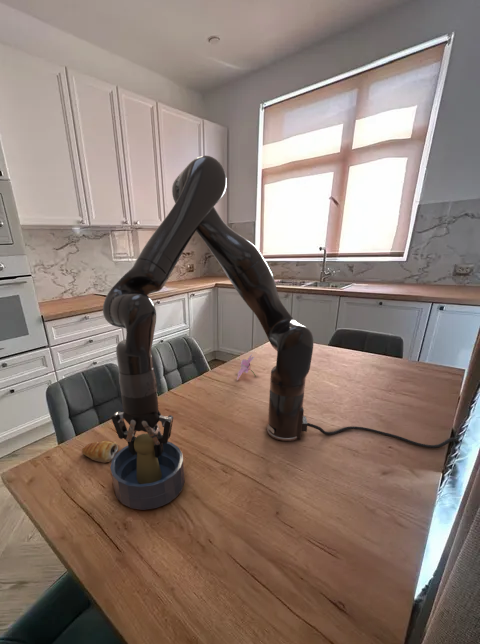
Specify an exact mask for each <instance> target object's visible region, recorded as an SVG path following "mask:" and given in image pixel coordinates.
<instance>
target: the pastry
mask: <svg viewBox="0 0 480 644" xmlns="http://www.w3.org/2000/svg"><path fill="white" fill-rule="evenodd" d="M81 449H82V450H81V451H82V454H83V455H84V456H85V457H86V458H88V459H90V460H92V461H95V462H100V463H110V462H112V459H113V458H114V456H115V455H116V454H117V453H118V452H119V446H118V444H117V442H115V441H108V440H102V441H94V442H91V443H88V444H86V445H85V446H84V447H83V448H81Z"/></svg>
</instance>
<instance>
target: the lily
mask: <svg viewBox="0 0 480 644" xmlns="http://www.w3.org/2000/svg"><path fill="white" fill-rule="evenodd" d="M252 355H253V353H250V355H249V356H248V358H247V359H246V358H243V359H242V360H241V362H240V369H239V370H238V372H237V373H236V375H237V377H236V381H238V380H239V379H240V377H241V376H242V374H244V373H245V374H248V373H249V371H250V372H252V374H253V375H254V377H256V376H257V375H256V374H255V373H254V371H253V370H252V369H251V362H252V361H253V360H254V358H255V356H252Z"/></svg>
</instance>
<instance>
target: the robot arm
mask: <svg viewBox="0 0 480 644" xmlns="http://www.w3.org/2000/svg"><path fill="white" fill-rule="evenodd" d="M227 184H228V183H227V174H226V171H225V168H224V166H223V165H222V164H221V162H219V160H218V159H216V158H214V157H213V156H211V155H202V156H201V155H200V156H198V157H196V158H194V159H193V160H192V161H191V162H189V163H188V164H187V165H186V167H184V169H183V170H182V171H181V172H180V173H179V174H178V175H177V176H176V178H175V179H174V180H173V183H172V186H171V195H172V199H173V201H174V205H173V206H172V208H171V210H170V211H169V212H168V213H167V215H166V216H165V218H164V219H163V221H161V223H160V224H159V225H158V227H157V228H156V229H155V230H154V232H153V234H152V235H151V236H150V238H149V239H148V240H147V242H146V243H145V245H144V246H143V248H142V249H141V251H140V253H139V255H138V256H137V258H136V260H135V262H134V264H133V265H132V267H131V268H130V269H129V270H128V271H126V272H125V274H124V275H123V276H121V278H120V279H119V280H118V281H117V282H116V283H115V284H114V285H113V286H112V287H111V288H110V290H109V291H108V293H107V294H106V296H105V298H104V301H103V305H102V314H103V317H104V319H105V321H106V322H107V323H108V324H110V325H111V326H113V327H116V328H121V329H124V330H125V331H126V332H125V333H126V336H125V339H122V340H120V341H119V342H118V343H117V345H116V346H115V347H116V348H115V353H116V361H117V369H118V384H119V390H120V397H121V405H122V410H123V411H122V412H121V411H120V410H116V411H115V412H114V414H113V415H112V416H110V417H111V418H110V419H111V421H112V423H113V426H114V429H115V431H116V434H117V437H118V438H119V439H120V440H123V439H124V440H125V441H126V442H127V446H128V448H129V452H131V455H135V454H136V451H135V449H134V440H135V438H136V437H137V436H136V435H137V432H144V433H146V434H148V435H149V436H150V438H152V439H153V441H154V443H155V444H154V450H155V458H159V457H160V456H161V454H162V452H163V443H164V444H166V443H167V442H169V439H170V438H171V435H172V429H173V424H174V423H173V422H174V416H173V415H171V414H169V415H168V416H167V415H166V416H165V415H163V414H162V413H161V412H160V409H159V398H158V389H157V388H158V384H157V377H156V373H155V369H154V359H153V352H152V347H153V343H154V336H155V332H156V331H155V330H156V325H157V309H156V306H155V304H154V302H153V300H152V298H151V297H150V296H149V295H150V294H153V293H157V292H160V291H161V290H162V289H163V288H164V287H165V285H166V284H167V281H168V280H169V278H170V277H171V275H172V273H173V271H174V269H175V267H176V266H177V264H178V262H179V260H180V258H181V256H183V255H182V254H183V253H184V251H185V249H186V248H187V246H188V244H189V242H190V241H191V239H192V237H193V236H194V235H195V233H197V234H198V236H199V237H200V239H202V241H203V242H204V244H205V245H206V247H207V248H208V249H209V251H210V252H211V254H212V256H213V257H214V258H215V259H216V261H217V262H218V264H219V265H220V267H221V269H222V270H223V271H224V274H225V275H226V277H227V278H228V280H229V281H230V283H231V284H232V286H233V288H234V289H235V290H236V292H237V294H239V296H240V297H241V299H242V300H243V301H244V303H245V304H246V305H247V306H248V308H249V309H250V310H251V311H252V312H253V313H254V315H255V317H256V318H257V319H258V321H259V323H260V325H261V327H262V329H263V331H264V333H265V335H266V337H267V339H268V341H269V344H270V345H271V347H272V348H273V350H275V351H276V353H277V354H276V363H275V366H273V367H272V368H271V370H270V380H269V381H270V382H269V396H268V415H267V428H266V431H267V434H268V435H269V436H270V437H271V438H272V439H275V440H276V441H281V442H294V441H296V440H301V439H302V432H304V433H307V432H308V427H309V428H313V429H316V430H318V431H319V432H321V433H322V434H323V435H325V436H333V435H337V434H340V433H343V432H346V431H349V430H357V431H365V432H371V433H375V434H378V435H382V436H386V437H389V438H393V439H397V440H399V441H402V442H405V443H407V444H409V445H414V446H416V447H420V448H425V449H440V448H443V447H445V446H446V445H449V444H450V443H451V442H454V443H456V444H460V443H461V442H460V440H459V439H458V438H455V437H449V438H447V439H445V440H444V441H442V442H440V443H438V444H426V443H420V442H417V441H414V440H410V439H407V438H405V437H402V436H399V435H395V434H393V433H389V432H385V431H381V430H378V429H373V428H368V427H363V426H345V427H342V428H339V429H337V430H335V431H325V430H324V429H323V428H322V427H320V426H318V425H317V424H313V423H310V422H308V420H307V416H306V415H304V413H305V410H304V409H305V408H304V401H305V399H304V398H305V389H306V381H307V380H306V379H307V376H308V374H309V372H310V370H311V365H312V359H313V352H314V335H313V333H312V331H311V329H309V328H308V327H306V325H303V324H301V323H300V322H298V321H297V320H296V319H295V318H293V316H292V315H291V314H290V312H289V311H288V309H287V308H286V306H285V305H284V304H283V302H282V300H281V298H280V295H279V292H278V289H277V288H278V287H277V284H276V280H275V277H274V275H273V272H272V271H271V269H270V266H269V265H268V263H267V261H266V260H265V257H264V256H263V255H262V253H261V252H260V250H259V248H258V247H257V246H256V245H254V244H253V243H252V242H251V241H250V240H248V239H247V238H245V237H244V236H242V235H241V234H239V233H238V232H236V231H234V230H233V229H232V228H230V227H229V226H228V225H227V223H225V222H224V220H223V218H222V217H221V216H220V214H219V213H218V211H217V210H216V208H215V206H216V205H217V204H218V203H219V202H220V200H221V199H222V198H223V197H224V195H225V193H226V189H227V186H228V185H227ZM159 422H160V423H161V427H162V428H163V431H162V432H161V428H160V425H159ZM126 423H127V424H128V425H129V426H128V427H127V425H126Z"/></svg>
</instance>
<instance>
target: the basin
mask: <svg viewBox="0 0 480 644" xmlns="http://www.w3.org/2000/svg"><path fill="white" fill-rule="evenodd" d="M110 462H111V463H110V466H109V469H110V473H111V480H112V485H113V490H114V494H115V498H116V499H117V500H118V501H119V502H120V503H121V504H122V505H124V506H126V507H127V508H130V509H134V510H142V511H145V510H155V509H158V508H161V507H163V506H166V505H168V504H170V503H171V502H172V501H174V500H175V499H176V498H177V497H179V495H180V493H181V492H182V490H183V488H184V485H185V482H186V481H185V468H184V455H183V452H182V451H181V449H180V447H178V446H177V445H176V444H174V443H173V442H171V441H168V442H167V443H166V444H164V443H163V452H162V454H161V456H160V457H159V458H158V462H159V465H160V469H161V473H162V477H161V479H160V480H159V481H156V482H153V483H146V484H140V483H139V482H138V481H137V452H136V454H135V455H131V452H129V448H128V445H126V446H124V447H122V448H121V449H120V450H118V451H117V452H116V453H115V454H114V457H113V458H112V460H111V461H110Z"/></svg>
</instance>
